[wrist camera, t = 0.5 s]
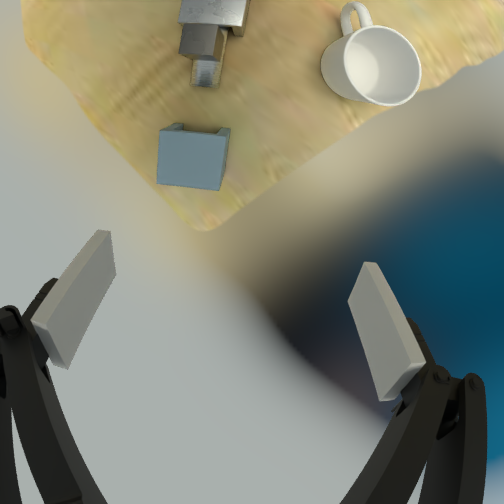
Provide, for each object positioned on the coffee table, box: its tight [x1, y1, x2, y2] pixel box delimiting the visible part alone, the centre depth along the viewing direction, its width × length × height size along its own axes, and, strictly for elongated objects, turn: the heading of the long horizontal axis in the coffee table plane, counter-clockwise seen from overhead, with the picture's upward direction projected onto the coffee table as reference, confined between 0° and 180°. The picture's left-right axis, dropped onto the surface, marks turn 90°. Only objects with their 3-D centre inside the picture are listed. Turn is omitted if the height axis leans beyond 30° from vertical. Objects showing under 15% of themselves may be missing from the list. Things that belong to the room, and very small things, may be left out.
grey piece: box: [179, 23, 229, 88], centre depth 22 cm, size 15×3×9 cm, turn 171°
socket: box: [157, 123, 230, 191], centre depth 32 cm, size 6×7×6 cm
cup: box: [321, 1, 422, 106], centre depth 24 cm, size 8×12×10 cm
